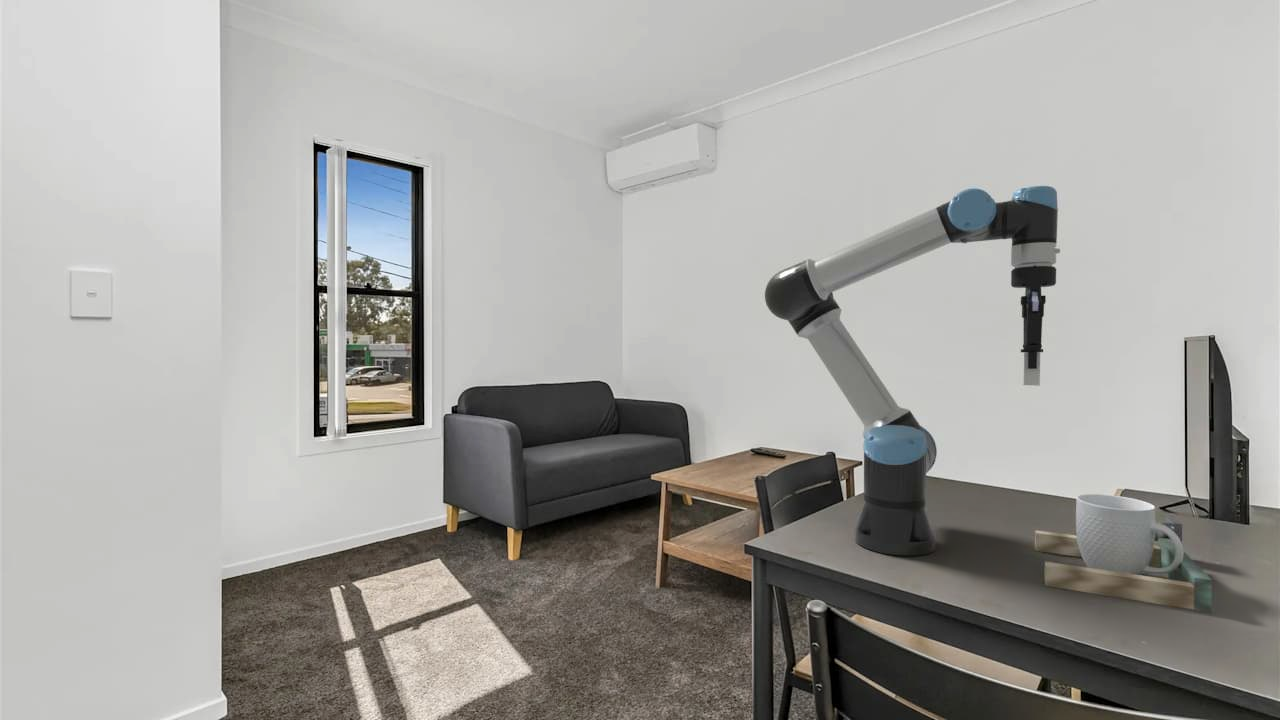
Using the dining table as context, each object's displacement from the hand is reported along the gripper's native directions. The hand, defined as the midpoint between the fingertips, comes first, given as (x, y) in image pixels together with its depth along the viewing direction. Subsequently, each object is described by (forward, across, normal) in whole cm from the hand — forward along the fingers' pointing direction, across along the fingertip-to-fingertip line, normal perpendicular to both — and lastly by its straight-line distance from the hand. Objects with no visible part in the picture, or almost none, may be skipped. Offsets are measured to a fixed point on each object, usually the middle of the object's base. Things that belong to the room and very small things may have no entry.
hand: (1031, 384), depth 121 cm
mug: (+33, -12, -13) cm, 37 cm away
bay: (+32, -12, -12) cm, 36 cm away
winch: (+32, +3, -20) cm, 38 cm away
